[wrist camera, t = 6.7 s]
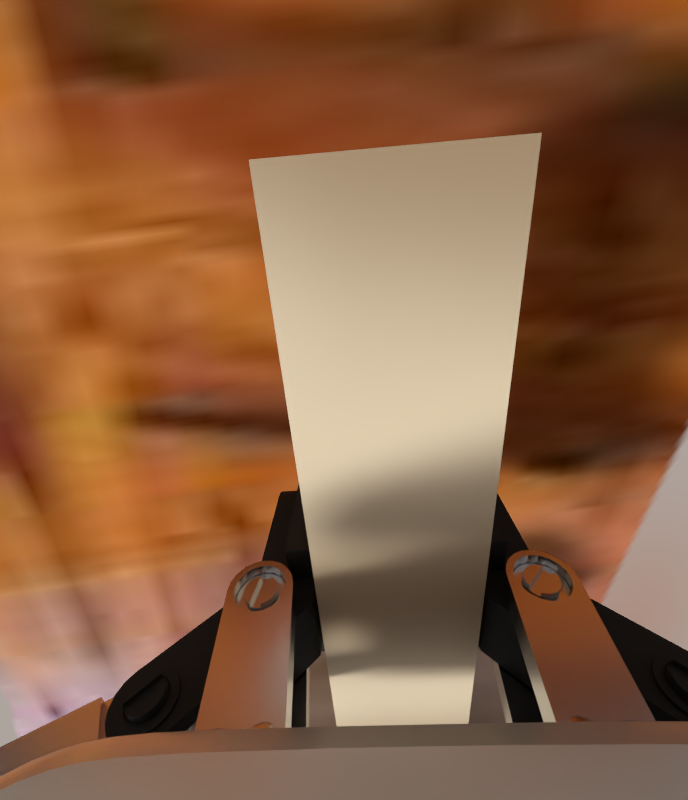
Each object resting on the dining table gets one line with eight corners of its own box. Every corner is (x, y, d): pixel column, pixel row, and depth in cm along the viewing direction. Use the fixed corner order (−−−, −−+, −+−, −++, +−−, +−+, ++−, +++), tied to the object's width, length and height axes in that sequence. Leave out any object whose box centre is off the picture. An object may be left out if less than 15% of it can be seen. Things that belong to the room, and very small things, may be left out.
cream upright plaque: (196, 207, 8) (20, 180, 4) (550, 176, 8) (802, 108, 4) (284, 613, 14) (253, 789, 10) (491, 606, 14) (557, 786, 10)
